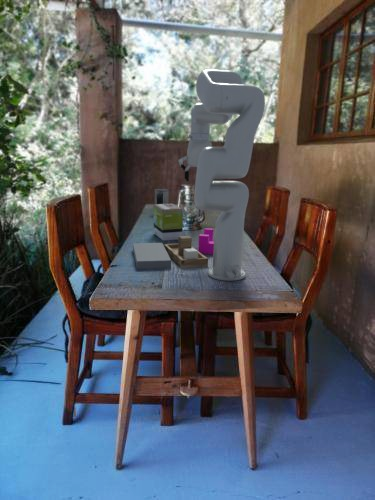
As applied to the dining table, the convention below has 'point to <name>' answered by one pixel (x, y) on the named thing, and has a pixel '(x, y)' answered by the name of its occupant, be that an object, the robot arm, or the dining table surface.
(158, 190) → the grey hollow cube
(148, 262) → the block
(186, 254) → the grey box
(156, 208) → the tea box
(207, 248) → the toy block
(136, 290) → the dining table surface
